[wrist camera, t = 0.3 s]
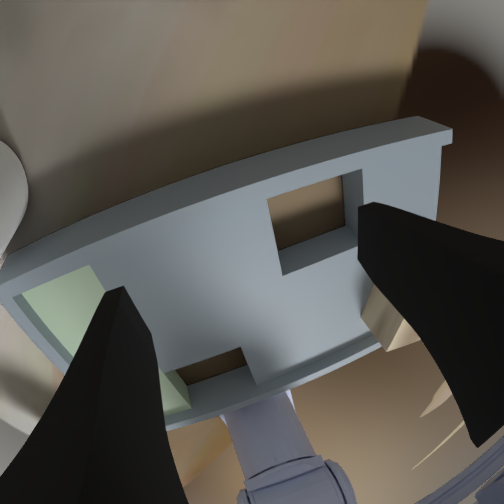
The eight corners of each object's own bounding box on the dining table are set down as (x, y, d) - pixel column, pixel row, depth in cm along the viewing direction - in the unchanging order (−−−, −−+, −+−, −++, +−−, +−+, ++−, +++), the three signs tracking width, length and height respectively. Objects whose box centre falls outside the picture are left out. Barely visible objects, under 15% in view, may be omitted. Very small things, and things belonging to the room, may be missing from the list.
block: (423, 261, 24) (454, 289, 21) (403, 307, 27) (428, 336, 24) (379, 267, 23) (411, 301, 20) (360, 317, 25) (386, 351, 22)
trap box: (404, 300, 31) (423, 322, 28) (134, 407, 27) (138, 438, 24) (417, 115, 20) (452, 129, 17) (8, 255, 16) (-10, 289, 13)
